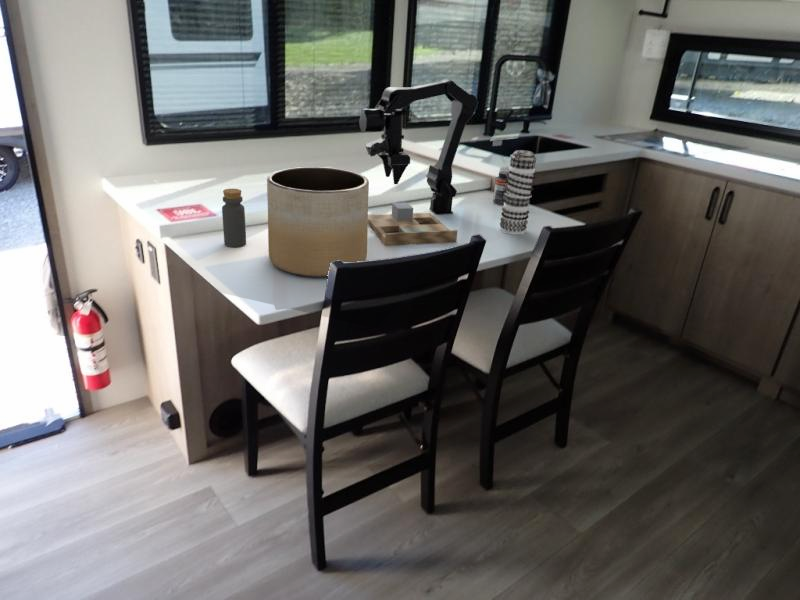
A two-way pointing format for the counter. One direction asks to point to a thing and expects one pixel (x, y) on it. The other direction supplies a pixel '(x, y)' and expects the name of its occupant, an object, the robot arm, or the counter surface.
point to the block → (402, 211)
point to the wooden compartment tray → (411, 230)
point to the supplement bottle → (500, 188)
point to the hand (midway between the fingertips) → (391, 180)
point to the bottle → (233, 218)
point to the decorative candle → (518, 192)
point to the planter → (316, 219)
